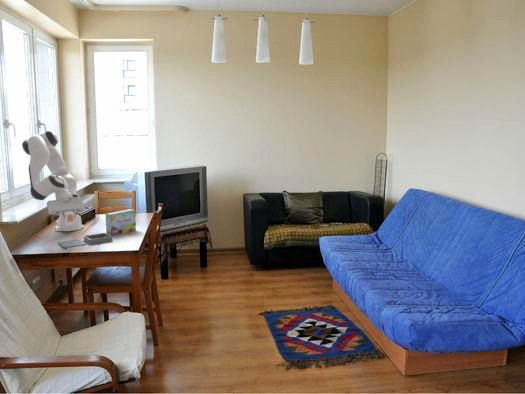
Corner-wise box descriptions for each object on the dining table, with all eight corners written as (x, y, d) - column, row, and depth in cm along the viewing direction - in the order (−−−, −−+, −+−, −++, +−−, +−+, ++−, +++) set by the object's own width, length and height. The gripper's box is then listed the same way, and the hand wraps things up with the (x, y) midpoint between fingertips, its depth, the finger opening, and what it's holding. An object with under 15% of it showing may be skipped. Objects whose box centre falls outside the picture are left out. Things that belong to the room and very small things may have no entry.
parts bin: (84, 241, 285) (83, 235, 284) (105, 238, 293) (105, 232, 292) (90, 245, 274) (90, 239, 274) (112, 242, 282) (112, 236, 281)
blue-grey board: (58, 243, 280) (58, 242, 280) (78, 240, 287) (78, 239, 287) (64, 249, 267) (64, 247, 267) (85, 245, 274) (85, 244, 274)
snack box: (111, 237, 296) (110, 214, 294) (106, 236, 299) (104, 213, 297) (136, 230, 314) (135, 209, 311) (131, 229, 317) (129, 208, 314)
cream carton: (64, 224, 274) (63, 211, 273) (72, 223, 277) (71, 210, 276) (66, 226, 271) (65, 212, 269) (74, 225, 273) (73, 211, 272)
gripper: (46, 197, 271) (51, 216, 265) (81, 194, 283) (87, 212, 277) (45, 204, 275) (50, 222, 269) (80, 200, 287) (85, 218, 281)
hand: (69, 217), depth 273 cm, fingers closed on cream carton, 4 cm apart
